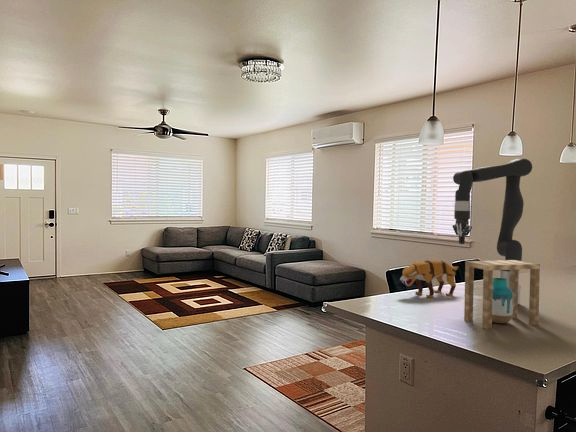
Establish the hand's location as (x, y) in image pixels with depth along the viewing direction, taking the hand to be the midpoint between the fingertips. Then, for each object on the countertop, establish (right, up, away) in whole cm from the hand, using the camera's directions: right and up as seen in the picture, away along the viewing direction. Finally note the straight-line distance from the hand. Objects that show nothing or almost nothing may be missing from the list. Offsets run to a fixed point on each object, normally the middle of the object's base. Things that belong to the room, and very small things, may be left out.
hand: (461, 243), depth 222 cm
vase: (+2, -32, -35) cm, 47 cm away
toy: (-9, -31, +23) cm, 39 cm away
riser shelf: (+3, -32, -35) cm, 47 cm away
